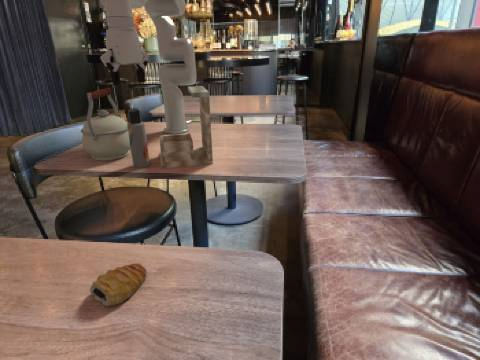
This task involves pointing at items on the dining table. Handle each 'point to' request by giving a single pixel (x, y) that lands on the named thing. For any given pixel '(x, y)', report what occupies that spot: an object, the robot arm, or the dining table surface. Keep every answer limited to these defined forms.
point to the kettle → (105, 131)
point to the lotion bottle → (137, 139)
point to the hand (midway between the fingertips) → (129, 83)
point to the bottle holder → (189, 139)
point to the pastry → (118, 284)
